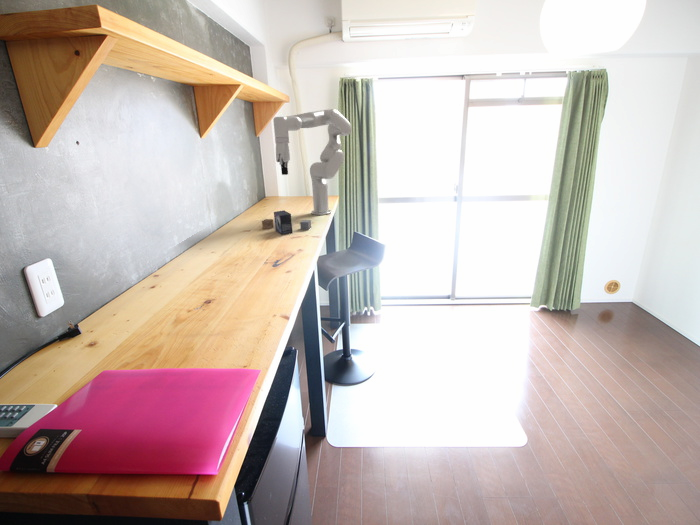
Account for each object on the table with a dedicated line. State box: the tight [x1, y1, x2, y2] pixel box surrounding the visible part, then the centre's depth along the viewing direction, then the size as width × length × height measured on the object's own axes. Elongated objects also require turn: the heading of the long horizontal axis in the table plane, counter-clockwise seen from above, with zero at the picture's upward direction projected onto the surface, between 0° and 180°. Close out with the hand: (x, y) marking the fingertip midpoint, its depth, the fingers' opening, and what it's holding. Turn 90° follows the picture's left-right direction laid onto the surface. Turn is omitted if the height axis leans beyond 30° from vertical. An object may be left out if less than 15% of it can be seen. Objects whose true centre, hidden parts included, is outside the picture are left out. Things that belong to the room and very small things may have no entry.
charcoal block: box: [299, 219, 312, 231], centre depth 200 cm, size 4×4×4 cm
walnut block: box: [261, 218, 274, 230], centre depth 204 cm, size 4×4×4 cm
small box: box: [273, 209, 294, 236], centre depth 195 cm, size 11×6×10 cm, turn 29°
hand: (285, 174), depth 210 cm, fingers closed
